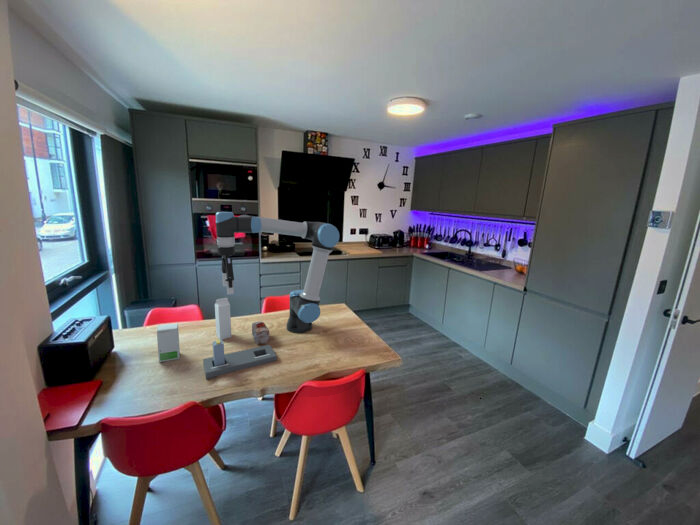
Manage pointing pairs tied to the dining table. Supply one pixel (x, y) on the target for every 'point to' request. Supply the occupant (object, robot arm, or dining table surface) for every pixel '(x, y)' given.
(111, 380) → the dining table surface
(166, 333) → the skincare box
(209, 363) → the panel
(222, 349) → the plug
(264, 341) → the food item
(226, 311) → the milk
